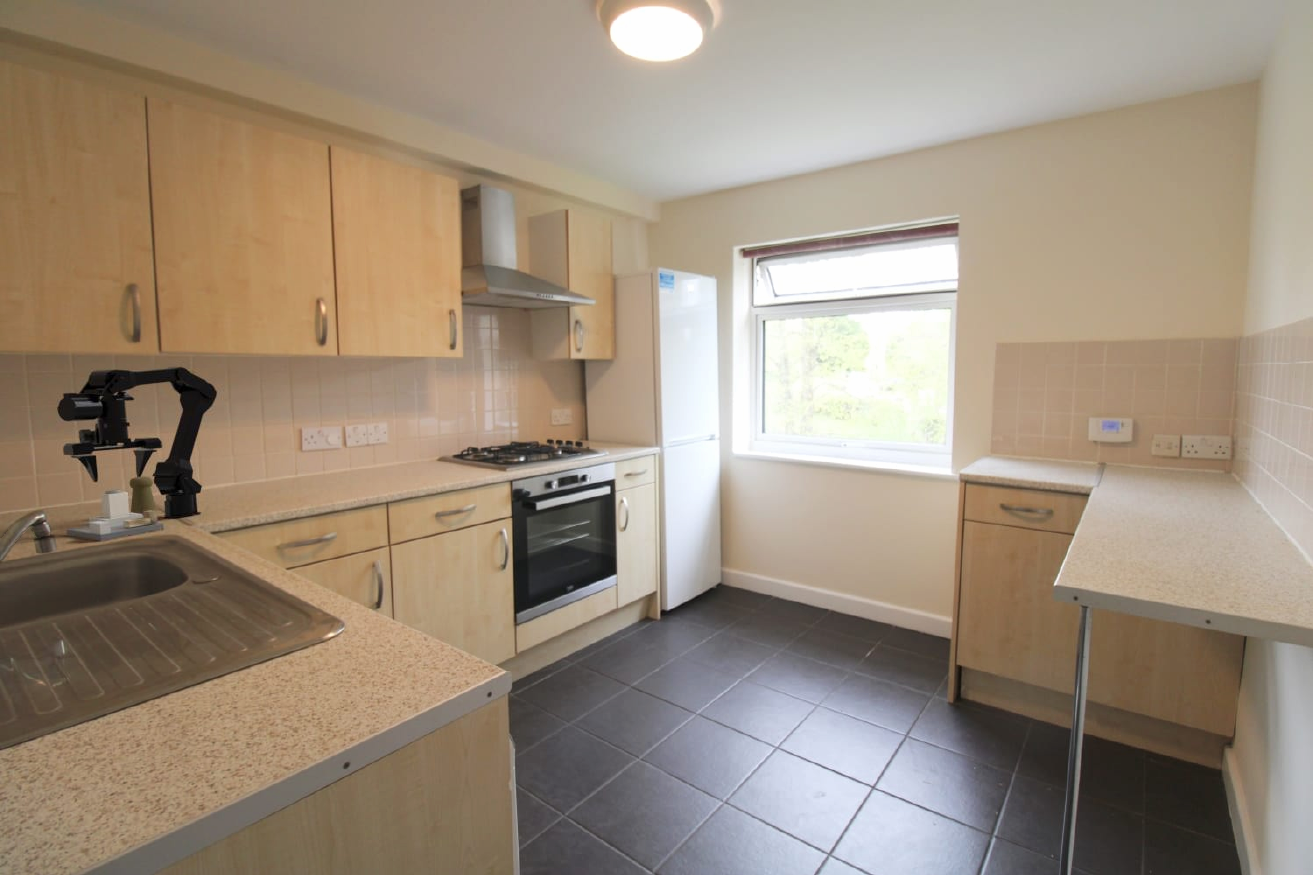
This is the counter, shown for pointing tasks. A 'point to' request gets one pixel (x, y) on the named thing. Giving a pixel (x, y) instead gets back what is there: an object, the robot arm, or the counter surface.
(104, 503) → the white upright block
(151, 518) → the latch bolt
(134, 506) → the olive pepper mill
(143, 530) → the plate
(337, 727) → the counter surface
